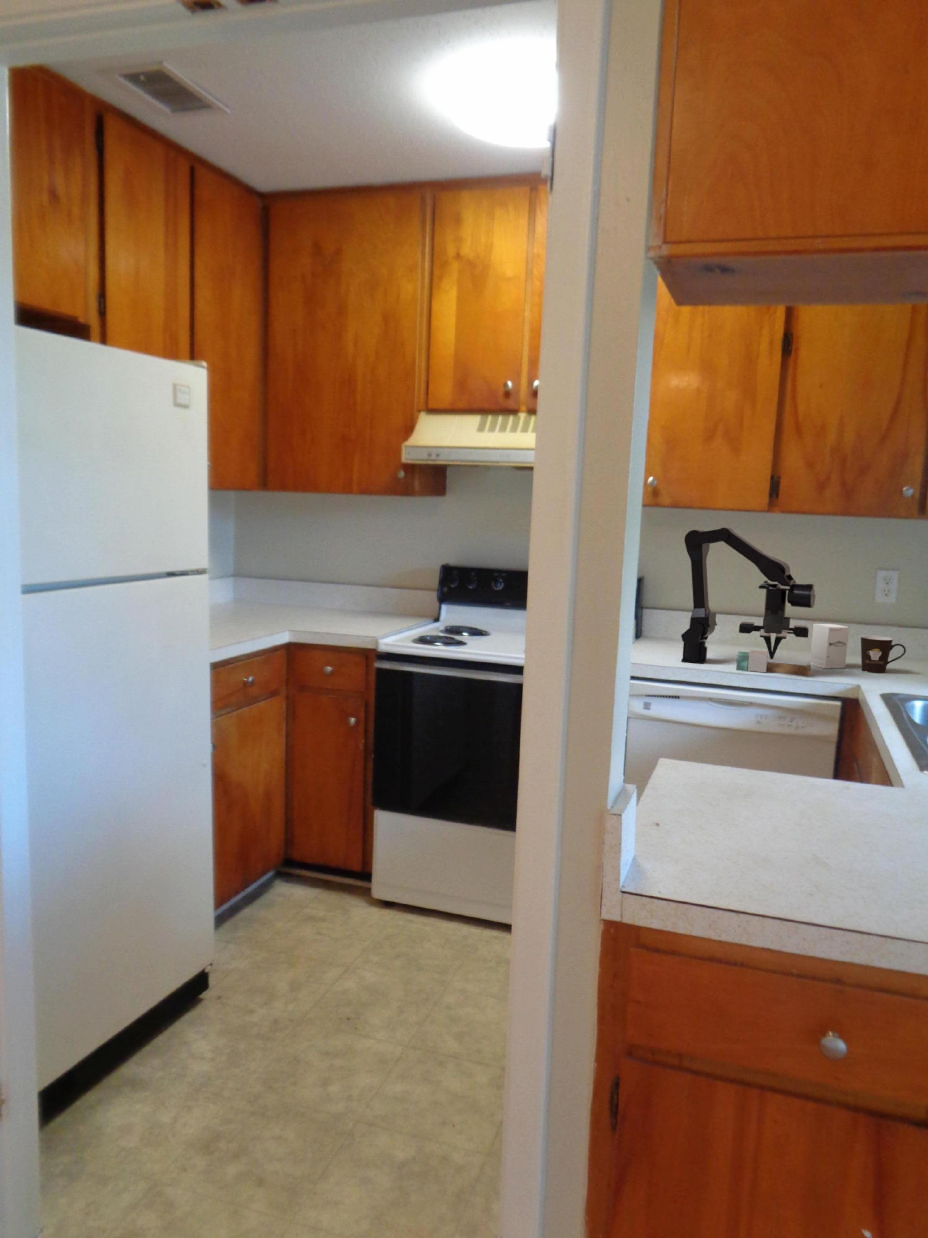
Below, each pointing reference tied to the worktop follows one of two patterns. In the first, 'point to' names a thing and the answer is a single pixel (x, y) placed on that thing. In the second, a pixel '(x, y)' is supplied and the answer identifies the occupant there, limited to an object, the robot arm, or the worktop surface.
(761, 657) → the block
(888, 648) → the coffee mug
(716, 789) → the worktop surface
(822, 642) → the supplement box
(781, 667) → the track
